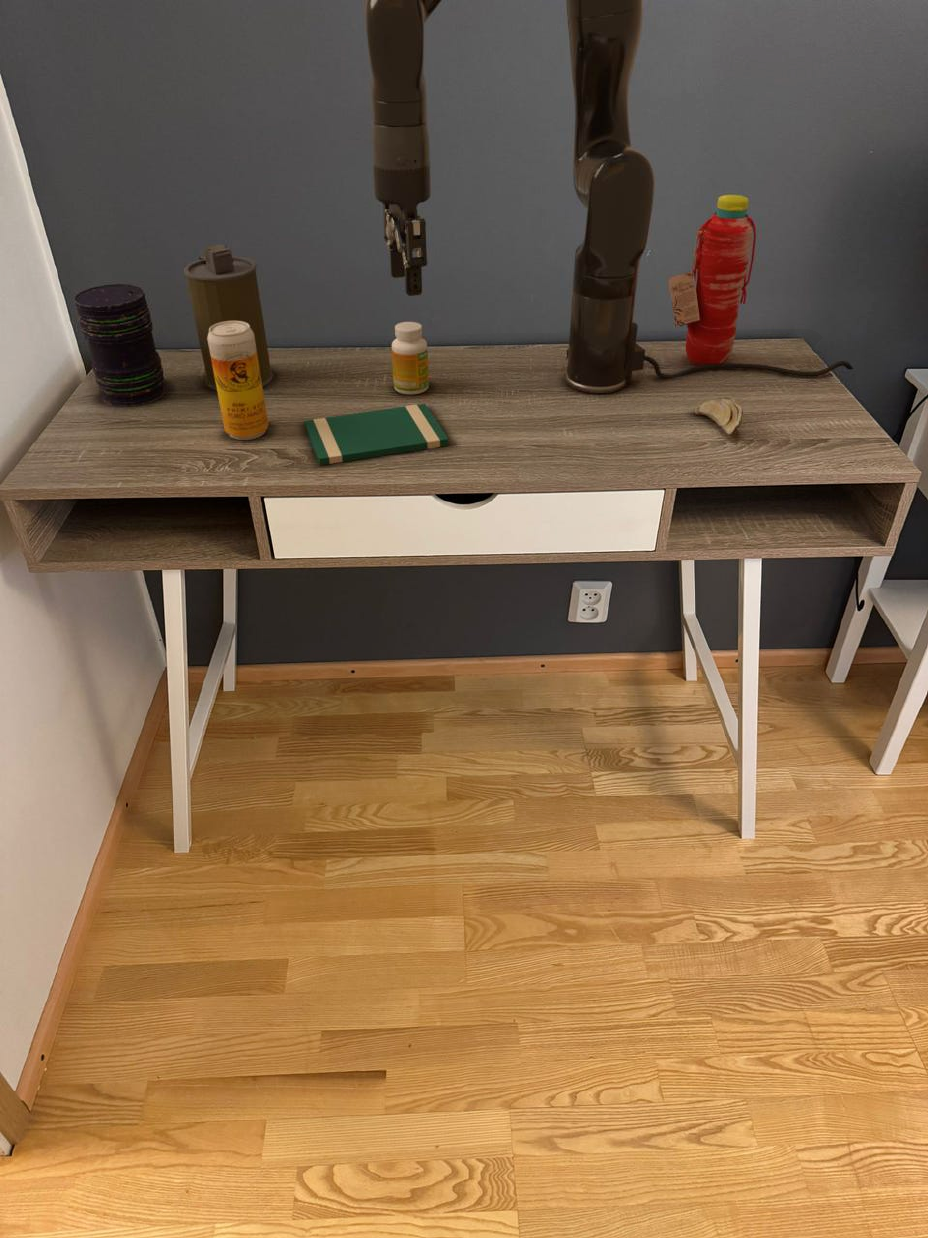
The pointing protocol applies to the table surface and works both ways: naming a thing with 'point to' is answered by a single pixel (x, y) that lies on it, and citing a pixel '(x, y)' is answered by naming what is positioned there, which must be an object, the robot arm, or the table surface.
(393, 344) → the supplement bottle
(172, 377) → the table surface
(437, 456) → the table surface
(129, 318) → the dark cylinder
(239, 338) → the beer can
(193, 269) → the canister
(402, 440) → the towel
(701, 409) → the dumpling
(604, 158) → the robot arm
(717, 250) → the water bottle
